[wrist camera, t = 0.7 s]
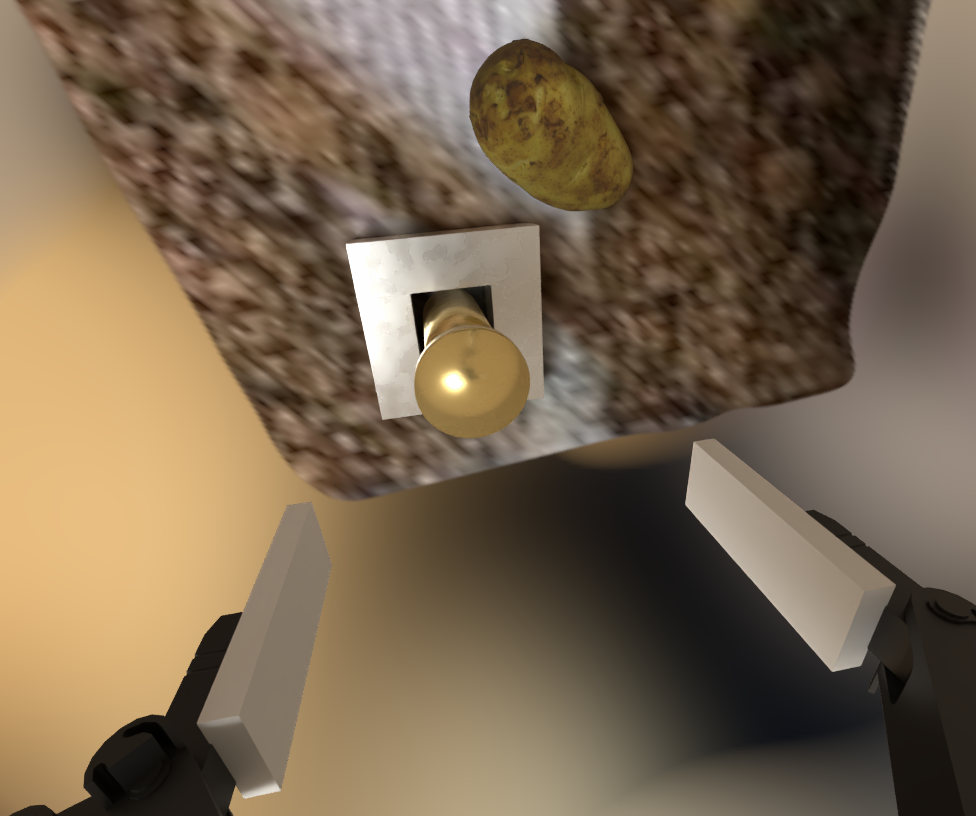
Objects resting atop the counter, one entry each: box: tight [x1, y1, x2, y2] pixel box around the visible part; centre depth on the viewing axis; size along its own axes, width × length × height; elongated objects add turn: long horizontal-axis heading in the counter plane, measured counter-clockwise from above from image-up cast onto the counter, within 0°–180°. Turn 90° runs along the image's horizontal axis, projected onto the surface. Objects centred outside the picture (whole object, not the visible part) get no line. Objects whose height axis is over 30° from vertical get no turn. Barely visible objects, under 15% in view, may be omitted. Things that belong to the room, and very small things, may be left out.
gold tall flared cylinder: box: [414, 288, 530, 438], centre depth 32 cm, size 6×6×16 cm
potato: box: [469, 39, 633, 211], centre depth 31 cm, size 8×13×8 cm, turn 41°
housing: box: [346, 222, 544, 420], centre depth 37 cm, size 14×14×4 cm
